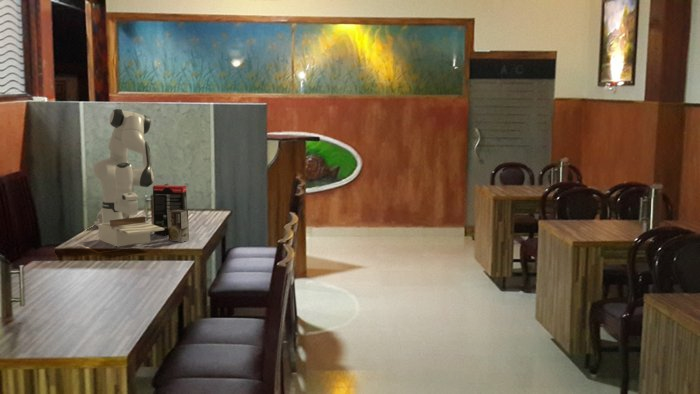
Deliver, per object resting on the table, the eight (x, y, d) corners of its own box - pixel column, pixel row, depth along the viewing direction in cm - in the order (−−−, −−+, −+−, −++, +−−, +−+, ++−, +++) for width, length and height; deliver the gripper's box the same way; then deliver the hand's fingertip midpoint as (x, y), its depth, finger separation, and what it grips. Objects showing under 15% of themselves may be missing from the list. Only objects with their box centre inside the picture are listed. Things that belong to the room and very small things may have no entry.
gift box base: (99, 241, 385) (98, 224, 383) (131, 236, 397) (131, 220, 395) (116, 248, 368) (116, 230, 367) (150, 243, 380) (149, 226, 379)
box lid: (110, 228, 372) (109, 220, 371) (144, 223, 384) (143, 216, 383) (129, 234, 355) (128, 226, 355) (164, 230, 367) (164, 222, 367)
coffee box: (189, 240, 387) (188, 210, 385) (181, 242, 381) (181, 212, 379) (175, 238, 391) (174, 208, 389) (167, 241, 385) (166, 210, 383)
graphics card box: (188, 234, 403) (187, 184, 399) (184, 236, 397) (182, 186, 392) (158, 233, 405) (156, 184, 401) (153, 236, 398) (151, 186, 394)
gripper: (110, 193, 383) (111, 219, 385) (127, 197, 367) (128, 225, 369) (122, 192, 387) (123, 218, 389) (139, 196, 371) (140, 223, 373)
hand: (126, 221), depth 379 cm, fingers closed
